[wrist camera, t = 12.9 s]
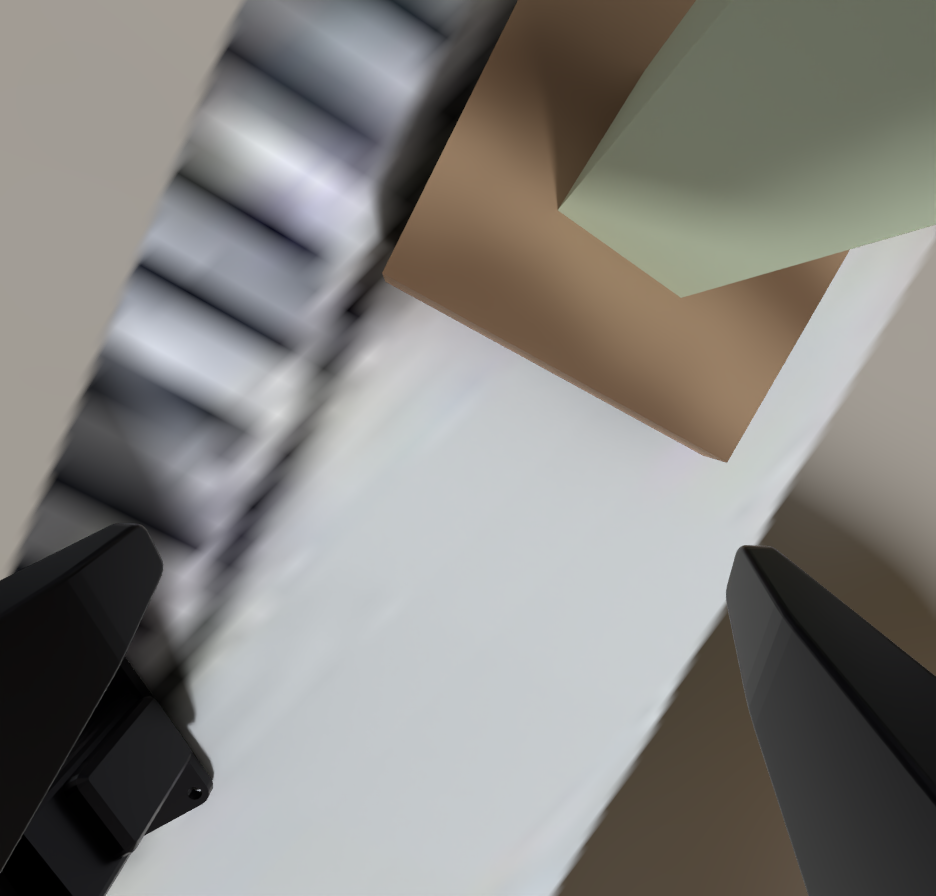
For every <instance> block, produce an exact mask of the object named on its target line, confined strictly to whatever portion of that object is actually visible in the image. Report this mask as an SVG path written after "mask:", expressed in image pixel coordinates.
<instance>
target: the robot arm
mask: <svg viewBox="0 0 936 896" xmlns="http://www.w3.org/2000/svg"><path fill="white" fill-rule="evenodd" d="M162 572H163V562H162V559H161V557H160V555H159V553H158V551H157V549H156V547H155V545H154V543H153V541H152V539H151V537H150V535H149V533H148V531H147V529H146V528H145V527H144V526H142V525H140V524H130V523H117V524H113V525H110V526H108V527H106V528H104V529H102V530H100V531H98V532H96V533H94V534H92V535H90V536H88V537H86V538H84V539H82V540H80V541H78V542H76V543H74V544H72V545H70V546H68V547H66V548H64V549H62V550H60V551H58V552H56V553H54V554H52V555H50V556H48V557H46V558H44V559H42V560H40V561H38V562H36V563H34V564H32V565H30V566H28V567H26V568H24V569H22V570H20V571H18V572H16V573H14V574H12V575H10V576H8V577H6V578H4V579H2V580H0V896H106V894H107V892H108V891H109V889H110V887H111V886H112V884H113V882H114V881H115V879H116V877H117V876H118V874H119V873H120V871H121V869H122V868H123V866H124V864H125V863H126V861H127V859H128V858H129V856H130V854H131V853H132V852H133V851H134V850H135V849H136V848H137V846H138V845H139V843H140V841H141V840H142V838H143V836H144V835H146V834H148V833H150V832H152V831H154V830H155V829H157V828H159V827H161V826H163V825H165V824H166V823H168V822H170V821H172V820H174V819H176V818H177V817H179V816H181V815H183V814H185V813H187V812H188V811H190V810H192V809H194V808H196V807H198V806H199V805H201V804H203V803H204V802H205V801H206V800H207V798H208V796H209V794H210V793H211V791H212V789H213V782H212V780H211V778H210V776H209V775H208V774H207V772H206V771H205V769H204V768H203V767H202V765H201V764H200V762H199V761H198V759H197V758H196V757H195V755H194V754H193V752H192V750H191V748H190V747H189V746H188V744H187V743H186V741H185V740H184V739H183V737H182V736H181V734H180V733H179V731H178V730H177V729H176V727H175V726H174V724H173V723H172V722H171V720H170V719H169V717H168V716H167V715H166V713H165V712H164V710H163V709H162V708H161V706H160V705H159V703H158V702H157V700H156V699H154V697H153V696H152V695H151V693H150V692H149V690H148V689H147V688H146V686H145V685H144V683H143V682H142V680H141V679H140V678H139V676H138V675H137V673H136V672H135V671H134V669H133V668H132V666H131V665H130V664H129V662H128V661H127V659H126V658H125V657H124V656H125V654H126V652H127V650H128V648H129V646H130V643H131V641H132V639H133V637H134V635H135V633H136V630H137V628H138V626H139V624H140V622H141V620H142V617H143V615H144V613H145V611H146V609H147V606H148V604H149V602H150V600H151V598H152V596H153V593H154V591H155V589H156V587H157V585H158V583H159V580H160V578H161V576H162ZM726 601H727V607H728V612H729V617H730V622H731V627H732V632H733V637H734V641H735V647H736V651H737V656H738V661H739V666H740V671H741V676H742V681H743V686H744V691H745V695H746V700H747V704H748V709H749V712H750V716H751V719H752V722H753V726H754V729H755V732H756V735H757V738H758V741H759V744H760V747H761V751H762V753H763V756H764V760H765V763H766V766H767V769H768V772H769V775H770V778H771V781H772V784H773V788H774V791H775V793H776V797H777V800H778V803H779V806H780V809H781V812H782V815H783V818H784V822H785V825H786V827H787V831H788V834H789V837H790V840H791V843H792V846H793V849H794V852H795V855H796V858H797V862H798V865H799V868H800V871H801V874H802V877H803V880H804V883H805V886H806V889H807V892H808V896H936V676H935V675H933V674H932V673H931V672H930V671H928V670H927V669H926V668H925V667H923V666H922V665H921V664H920V663H918V662H917V661H916V660H914V659H913V658H912V657H911V656H910V655H908V654H907V653H906V652H905V651H903V650H902V649H901V648H900V647H898V646H897V645H896V644H894V643H893V642H892V641H891V640H889V639H888V638H887V637H886V636H884V635H883V634H882V633H881V632H879V631H878V630H877V629H876V628H874V627H873V626H872V625H871V624H869V623H868V622H867V621H866V620H864V619H863V618H862V617H861V616H859V615H858V614H857V613H856V612H854V611H853V610H852V609H850V608H849V607H848V606H847V605H845V604H844V603H843V602H842V601H841V600H839V599H838V598H837V597H836V596H834V595H833V594H832V593H831V592H829V591H828V590H827V589H826V588H824V587H823V586H822V585H820V584H819V583H818V582H817V581H815V580H814V579H813V578H812V577H810V576H809V575H808V574H806V573H805V572H804V571H803V570H802V569H800V568H799V567H798V566H797V565H795V564H794V563H793V562H792V561H790V560H789V559H788V558H786V557H785V556H784V555H783V554H782V553H780V552H779V551H778V550H776V549H775V548H773V547H769V546H752V545H744V546H741V547H740V548H739V549H738V550H737V552H736V555H735V559H734V562H733V566H732V570H731V573H730V577H729V580H728V584H727V589H726ZM193 787H197V788H199V789H200V790H201V791H195V790H194V789H193Z"/></svg>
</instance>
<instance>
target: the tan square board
mask: <svg viewBox="0 0 936 896" xmlns="http://www.w3.org/2000/svg"><path fill="white" fill-rule="evenodd" d="M695 1H696V0H518V1H517V3H516V5H515V7H514V9H513V11H512V13H511V15H510V17H509V19H508V21H507V23H506V25H505V27H504V29H503V31H502V33H501V35H500V37H499V39H498V41H497V43H496V45H495V47H494V49H493V51H492V53H491V55H490V57H489V60H488V62H487V64H486V66H485V68H484V70H483V72H482V74H481V76H480V78H479V80H478V82H477V84H476V86H475V88H474V90H473V92H472V94H471V96H470V98H469V100H468V102H467V104H466V106H465V108H464V110H463V112H462V114H461V116H460V118H459V120H458V122H457V124H456V126H455V128H454V130H453V132H452V134H451V136H450V138H449V140H448V142H447V144H446V146H445V148H444V150H443V152H442V154H441V156H440V158H439V160H438V162H437V164H436V166H435V168H434V170H433V172H432V174H431V176H430V178H429V180H428V182H427V184H426V186H425V188H424V190H423V192H422V194H421V196H420V198H419V200H418V202H417V204H416V206H415V208H414V210H413V212H412V214H411V216H410V218H409V220H408V222H407V224H406V226H405V228H404V230H403V232H402V234H401V236H400V238H399V240H398V242H397V244H396V246H395V248H394V250H393V252H392V254H391V256H390V258H389V260H388V263H387V265H386V267H385V269H384V271H383V273H382V274H383V276H384V279H385V281H386V282H387V283H389V284H391V285H393V286H395V287H396V288H398V289H400V290H402V291H404V292H406V293H407V294H409V295H411V296H413V297H415V298H416V299H418V300H420V301H422V302H424V303H426V304H427V305H429V306H431V307H433V308H435V309H437V310H438V311H440V312H442V313H444V314H446V315H447V316H449V317H451V318H453V319H455V320H457V321H458V322H460V323H462V324H464V325H466V326H468V327H469V328H471V329H473V330H475V331H477V332H479V333H480V334H482V335H484V336H486V337H488V338H489V339H491V340H493V341H495V342H497V343H499V344H500V345H502V346H504V347H506V348H508V349H510V350H511V351H513V352H515V353H517V354H519V355H521V356H522V357H524V358H526V359H528V360H530V361H531V362H533V363H535V364H537V365H539V366H541V367H542V368H544V369H546V370H548V371H550V372H552V373H553V374H555V375H557V376H559V377H561V378H562V379H564V380H566V381H568V382H570V383H572V384H573V385H575V386H577V387H579V388H581V389H583V390H584V391H586V392H588V393H590V394H592V395H594V396H595V397H597V398H599V399H601V400H603V401H604V402H606V403H608V404H610V405H612V406H614V407H615V408H617V409H619V410H621V411H623V412H625V413H626V414H628V415H630V416H632V417H634V418H635V419H637V420H639V421H641V422H643V423H645V424H646V425H648V426H650V427H652V428H654V429H656V430H657V431H659V432H661V433H663V434H665V435H667V436H668V437H670V438H672V439H674V440H676V441H677V442H679V443H681V444H683V445H685V446H687V447H688V448H690V449H692V450H694V451H696V452H698V453H699V454H701V455H703V456H707V457H710V458H713V459H717V460H720V461H723V462H728V460H729V458H730V457H731V455H732V453H733V451H734V450H735V448H736V446H737V444H738V443H739V441H740V439H741V437H742V436H743V434H744V432H745V431H746V429H747V427H748V425H749V424H750V422H751V420H752V418H753V417H754V415H755V413H756V411H757V410H758V408H759V406H760V404H761V403H762V401H763V399H764V398H765V396H766V394H767V392H768V391H769V389H770V387H771V385H772V384H773V382H774V380H775V378H776V377H777V375H778V373H779V372H780V370H781V368H782V366H783V365H784V363H785V361H786V359H787V358H788V356H789V354H790V352H791V351H792V349H793V347H794V346H795V344H796V342H797V340H798V339H799V337H800V335H801V333H802V332H803V330H804V328H805V326H806V325H807V323H808V321H809V320H810V318H811V316H812V314H813V313H814V311H815V309H816V307H817V306H818V304H819V302H820V300H821V299H822V297H823V295H824V294H825V292H826V290H827V288H828V287H829V285H830V283H831V281H832V280H833V278H834V276H835V274H836V273H837V271H838V269H839V267H840V266H841V264H842V262H843V261H844V259H845V257H846V255H847V254H848V252H849V250H846V251H843V252H839V253H836V254H832V255H829V256H825V257H822V258H818V259H815V260H811V261H808V262H804V263H801V264H797V265H794V266H790V267H787V268H783V269H780V270H776V271H773V272H769V273H766V274H762V275H759V276H755V277H752V278H749V279H745V280H742V281H738V282H735V283H731V284H728V285H724V286H721V287H717V288H714V289H710V290H707V291H703V292H700V293H696V294H693V295H689V296H686V297H682V298H680V297H679V296H678V295H676V294H675V293H673V292H672V291H671V290H669V289H668V288H666V287H665V286H664V285H662V284H661V283H659V282H658V281H657V280H655V279H654V278H652V277H651V276H650V275H648V274H647V273H645V272H644V271H642V270H641V269H640V268H638V267H637V266H635V265H634V264H633V263H631V262H630V261H628V260H627V259H626V258H624V257H623V256H621V255H620V254H619V253H617V252H616V251H614V250H613V249H612V248H610V247H609V246H607V245H606V244H605V243H603V242H602V241H600V240H599V239H597V238H596V237H595V236H593V235H592V234H590V233H589V232H588V231H586V230H585V229H583V228H582V227H581V226H579V225H578V224H576V223H575V222H574V221H572V220H571V219H569V218H568V217H567V216H565V215H564V214H562V213H561V212H559V211H558V209H559V207H560V206H561V204H562V202H563V201H564V199H565V198H566V196H567V194H568V193H569V191H570V190H571V188H572V186H573V185H574V183H575V182H576V180H577V178H578V177H579V175H580V174H581V172H582V170H583V169H584V167H585V166H586V164H587V162H588V161H589V159H590V157H591V156H592V154H593V153H594V151H595V149H596V148H597V146H598V145H599V143H600V141H601V140H602V138H603V137H604V135H605V133H606V132H607V130H608V129H609V127H610V125H611V124H612V122H613V121H614V119H615V117H616V116H617V114H618V113H619V111H620V109H621V108H622V106H623V105H624V103H625V101H626V100H627V98H628V96H629V95H630V93H631V92H632V90H633V88H634V87H635V85H636V84H637V82H638V80H639V79H640V77H641V76H642V74H643V72H644V71H645V69H646V68H647V67H648V65H649V64H650V62H651V61H652V60H653V58H654V57H655V56H656V54H657V53H658V52H659V50H660V49H661V47H662V46H663V45H664V43H665V42H666V41H667V39H668V38H669V37H670V35H671V34H672V32H673V31H674V30H675V28H676V27H677V26H678V24H679V23H680V22H681V20H682V19H683V17H684V16H685V15H686V13H687V12H688V11H689V9H690V8H691V7H692V5H693V4H694V2H695Z"/></svg>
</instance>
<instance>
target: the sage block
mask: <svg viewBox="0 0 936 896" xmlns="http://www.w3.org/2000/svg"><path fill="white" fill-rule="evenodd" d="M558 211H559V212H561V213H562V214H564V215H565V216H567V217H568V218H569V219H571V220H572V221H574V222H575V223H576V224H578V225H579V226H581V227H582V228H583V229H585V230H586V231H588V232H589V233H590V234H592V235H593V236H595V237H596V238H597V239H599V240H600V241H602V242H603V243H605V244H606V245H607V246H609V247H610V248H612V249H613V250H614V251H616V252H617V253H619V254H620V255H621V256H623V257H624V258H626V259H627V260H628V261H630V262H631V263H633V264H634V265H635V266H637V267H638V268H640V269H641V270H642V271H644V272H645V273H647V274H648V275H650V276H651V277H652V278H654V279H655V280H657V281H658V282H659V283H661V284H662V285H664V286H665V287H666V288H668V289H669V290H671V291H672V292H673V293H675V294H676V295H678V296H679V297H680V298H682V297H686V296H689V295H693V294H696V293H700V292H703V291H707V290H710V289H714V288H717V287H721V286H724V285H728V284H731V283H735V282H738V281H742V280H745V279H749V278H752V277H755V276H759V275H762V274H766V273H769V272H773V271H776V270H780V269H783V268H787V267H790V266H794V265H797V264H801V263H804V262H808V261H811V260H815V259H818V258H822V257H825V256H829V255H832V254H836V253H839V252H843V251H846V250H850V249H853V248H856V247H860V246H863V245H867V244H870V243H874V242H877V241H881V240H884V239H888V238H891V237H895V236H898V235H902V234H905V233H909V232H912V231H916V230H919V229H923V228H926V227H930V226H933V225H936V0H696V1H695V2H694V4H693V5H692V7H691V8H690V9H689V11H688V12H687V13H686V15H685V16H684V17H683V19H682V20H681V22H680V23H679V24H678V26H677V27H676V28H675V30H674V31H673V32H672V34H671V35H670V37H669V38H668V39H667V41H666V42H665V43H664V45H663V46H662V47H661V49H660V50H659V52H658V53H657V54H656V56H655V57H654V58H653V60H652V61H651V62H650V64H649V65H648V67H647V68H646V69H645V71H644V72H643V74H642V76H641V77H640V79H639V80H638V82H637V84H636V85H635V87H634V88H633V90H632V92H631V93H630V95H629V96H628V98H627V100H626V101H625V103H624V105H623V106H622V108H621V109H620V111H619V113H618V114H617V116H616V117H615V119H614V121H613V122H612V124H611V125H610V127H609V129H608V130H607V132H606V133H605V135H604V137H603V138H602V140H601V141H600V143H599V145H598V146H597V148H596V149H595V151H594V153H593V154H592V156H591V157H590V159H589V161H588V162H587V164H586V166H585V167H584V169H583V170H582V172H581V174H580V175H579V177H578V178H577V180H576V182H575V183H574V185H573V186H572V188H571V190H570V191H569V193H568V194H567V196H566V198H565V199H564V201H563V202H562V204H561V206H560V207H559V209H558Z"/></svg>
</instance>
